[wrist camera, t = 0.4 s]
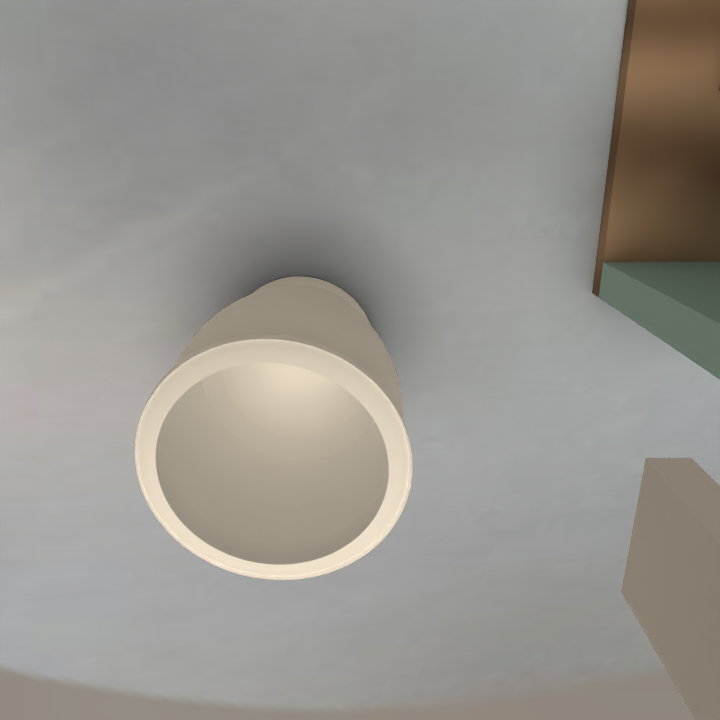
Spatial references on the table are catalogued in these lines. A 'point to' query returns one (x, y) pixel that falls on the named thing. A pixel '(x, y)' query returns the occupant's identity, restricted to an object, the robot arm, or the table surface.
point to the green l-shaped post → (670, 304)
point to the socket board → (665, 138)
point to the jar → (278, 436)
